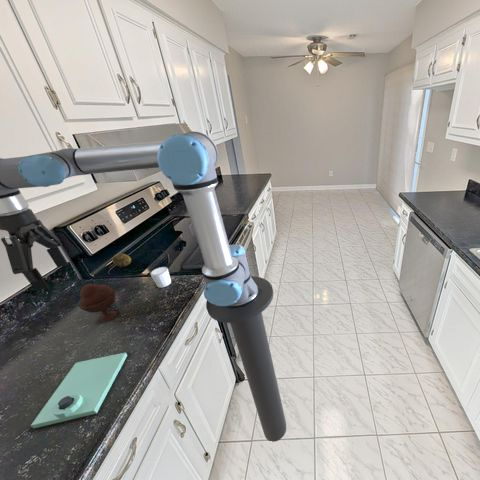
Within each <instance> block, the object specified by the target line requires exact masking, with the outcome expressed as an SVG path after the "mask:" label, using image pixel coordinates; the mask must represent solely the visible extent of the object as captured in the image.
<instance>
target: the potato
mask: <svg viewBox="0 0 480 480" xmlns="http://www.w3.org/2000/svg"><path fill="white" fill-rule="evenodd" d="M111 261H112V263H113V264H114V265H115V266H117V267H118V268H123V267H127V266H129V265H130V264H131V263H132V258H131V256H129V255H128V254H126V253H118V254H115V255H114V256H113V257H112V258H111Z"/></svg>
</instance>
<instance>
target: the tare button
mask: <svg viewBox="0 0 480 480" xmlns="http://www.w3.org/2000/svg"><path fill="white" fill-rule="evenodd" d="M72 403H73V399H72V398H71V397H70V396H66V397H64V398H62V399H61V400H60V401H59V402H58V405H59V407H60V408H61V409H65V408H67V407H69V406H70V405H71V404H72Z"/></svg>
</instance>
